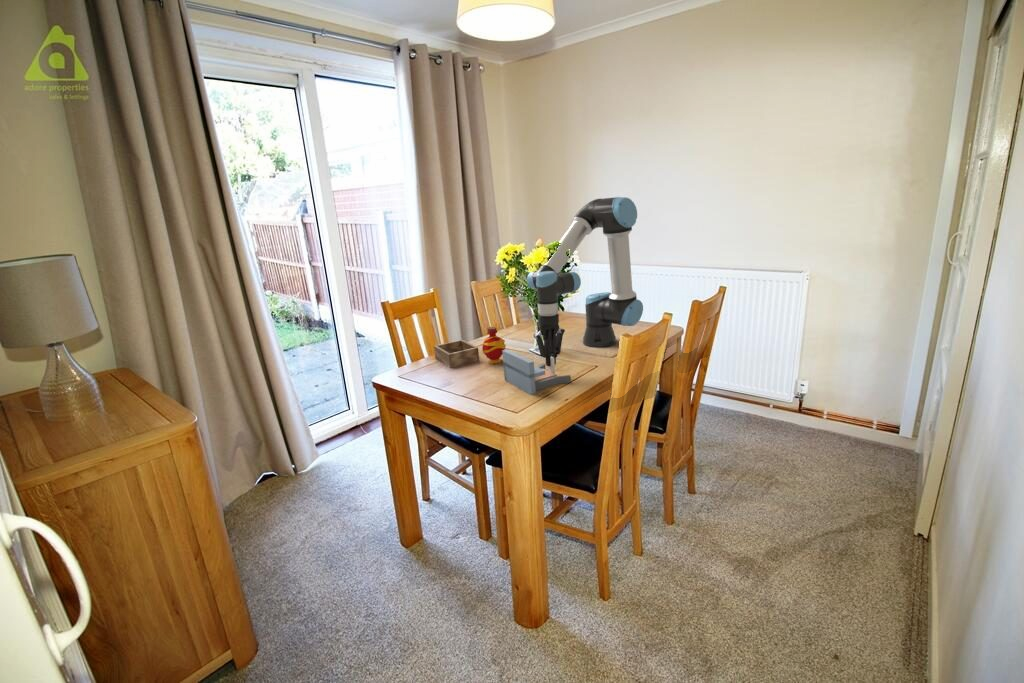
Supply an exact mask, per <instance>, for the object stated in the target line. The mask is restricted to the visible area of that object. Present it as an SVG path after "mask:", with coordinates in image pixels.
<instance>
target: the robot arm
mask: <svg viewBox="0 0 1024 683" xmlns="http://www.w3.org/2000/svg"><path fill="white" fill-rule="evenodd" d="M637 219H638V209H637V207H636V204H635V202H634V200H632V199H631V198H629V197H623V196H615V197H605V198H596V199H593V200H590V201H589V202H588V203H586V204H585V205H584V206H582V207H581V208H580V210H578V211H577V212H576V214H575V215H574V216H573V217H572V219H571V220H570V221H571V225H569V228H568V229H567V230H566V231H565V232H564V234H563V235H562V236H561V238H560V240H559V241H558V242H559V243H562V244H559V245H561V246H559V247H558V248H557V251H556V252H555V253H554V254H553V255H552V257H551V258H550V259H549V261H548V262H547V263H545V264H544V265H543V266H541V265H540V267H539V269H538V270H536V271H535V270H532V271H533V272H532V271H529V273H528V274H527V276H526V282H527V286H528V287H529V288H530V289H532V290H535V291H536V297H537V298H536V299H537V312H538V325H539V327H538V332H537V333H534V334H533V338H534V339H535V341H536V344H537V347H538V351H539V354H540V357H542V358H544V359H545V367H547V370H548V371H550V372H552V373H554V374H556V366H555V365H556V364H557V358H558V355H561V349H562V343H563V336H564V333H565V332H566V330H565V329H564V328H562V327H560V325H559V322H560V318H559V316H560V315H559V296H562V295H565V294H571V293H573V292H576V291H578V290H579V289H580V287H581V284H582V282H581V281H582V280H581V277H580V275H579V274H578V272H575V271H568V272H561V271H562V269H563V268H564V267H565V265H566V264H567V263H568V262H569V260H570V258H569V257H568V256H567V255H566V251H569V250H567V249H570V256H571V257H572V255H573V254H575V251H577V248H579V245H580V244H581V243H582V241H583V240H584V239H585V238H586V236H589V235H590V234H591V233H592V232H593V231H594V230H595V229H598V228H602V234H603V235H604V236H605V237H606V238H607V240H606V241H607V249H608V250H607V251H608V260H609V262H608V263H609V270H610V272H609V274H610V283H611V284H610V286H611V292H609V291H608V292H607V291H606V292H597V293H592V294H589V295H587V296H586V297H585V324H586V327H585V331H584V334H583V337H582V343H583V345H585V346H587V347H592V348H593V347H594V348H604V347H611V346H613V345H615V344H617V343H616V342H617V338H616V337H617V336H616V335H615V330H614V329H613V324H614V325H619V326H623V327H633V326H635V325H637V324H638V323H639V322H640V320H641V319H642V316H643V312H644V305H643V302H642V301H641V300H640V299H638V297H637V292H635V291H634V290H633V280H632V279H633V278H632V266H631V265H632V264H631V253H630V252H631V251H630V238H629V236H630V233H631V232H632V231H633V226H635V224H636V222H637ZM563 244H564V245H563ZM567 246H568V247H567ZM563 266H564V267H563Z"/></svg>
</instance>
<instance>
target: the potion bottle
mask: <svg viewBox="0 0 1024 683" xmlns="http://www.w3.org/2000/svg"><path fill="white" fill-rule="evenodd" d="M497 329H498V328H497V326H489V327H487V334H489V336H488V337H486V338H485V339H484V341H483V343H482V353H483V354H484V355H485V356H486V358H487V359H489V363H490V364H497V363H501V361H502V360H501V358H502V357H503V352H502V350H506V346H507V345H506V344H505V339H503V337H500V336H498V335H497V333H498V330H497Z"/></svg>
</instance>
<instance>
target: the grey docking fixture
mask: <svg viewBox="0 0 1024 683" xmlns="http://www.w3.org/2000/svg"><path fill="white" fill-rule="evenodd" d="M502 352H503V354H502V363H503V373H504V374H503V376H504V381H506V382H507V383H509V384H511V385H513V386H514V387H516V388H518V389H520V390H522V391H523V392H526V393H527V394H529V395H531V396H532V395H535V394H537V390H542V389H544V388H547V387H552V386H554V385H557V384H569V383H572V378H571V377H572V376H571V374H570V375H569V374H567V375H557V376H555V377H551V378H547V379H544V380H540V381H537V382H535V377H539V376H542V375H545V370H547V368H546V363H542V364H540V365H538V366H536V365H535V362H534V360H531V359H530V358H526V357H524V356H522V355H520V354H518V353H516V352H514V351H511V350H509V349H506V348H505V350H502ZM543 369H545V370H543Z"/></svg>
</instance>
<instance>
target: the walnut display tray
mask: <svg viewBox="0 0 1024 683" xmlns="http://www.w3.org/2000/svg"><path fill="white" fill-rule="evenodd" d="M433 351H434V358H435V360H437V361H439V362H441V363H442V364H444V365H445V366H446V367H448V368H450V369H452V368H455V367H459V366H464V365H467V364H470V363H471V364H472V363H475V362H479V361H480V354H479V347H477V346H476V345H473V344H472V343H469V342H467V341H466V340H464V339H458V340H454V341H449V342H445V343H441V344H440V343H439V344H435V345H433Z"/></svg>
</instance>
